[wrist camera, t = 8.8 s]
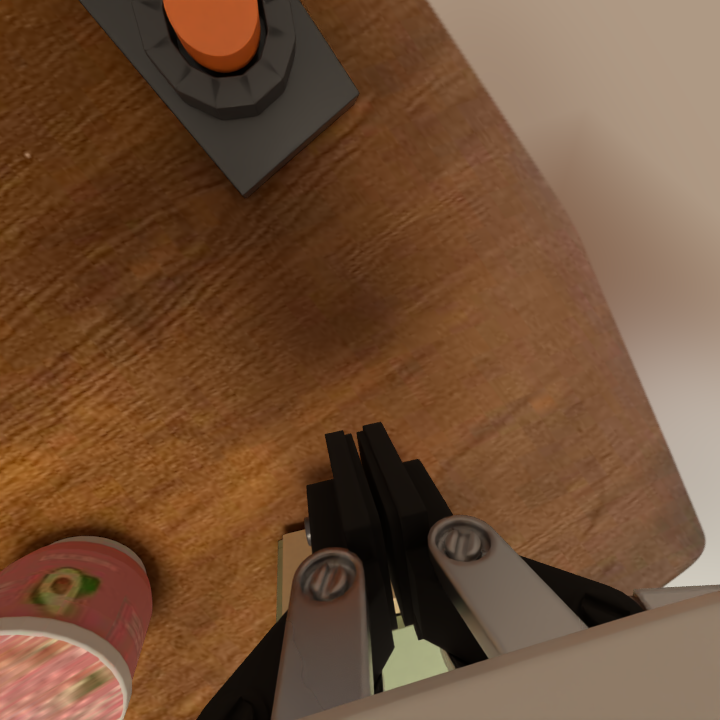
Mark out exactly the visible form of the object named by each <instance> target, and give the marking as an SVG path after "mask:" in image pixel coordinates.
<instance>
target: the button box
mask: <svg viewBox="0 0 720 720" xmlns="http://www.w3.org/2000/svg"><path fill="white" fill-rule="evenodd" d="M79 1H80V2H81V4H82V5H83V6H84V7H85V8H86V10H87V11H88V12H89V13H90V14H91V16H92V17H93V18H94V19H95V20H96V21H97V23H98V24H99V25H100V26H101V27H102V29H103V30H104V31H105V32H106V33H107V35H108V36H109V37H110V38H111V39H112V41H113V42H114V43H115V44H116V45H117V47H118V48H119V49H120V50H121V51H122V53H123V54H124V55H125V56H126V57H127V59H128V60H129V61H130V62H131V63H132V64H133V66H134V67H135V68H136V69H137V70H138V72H139V73H140V74H141V75H142V76H143V78H144V79H145V80H146V81H147V82H148V84H149V85H150V86H151V87H152V88H153V90H154V91H155V92H156V93H157V94H158V96H159V97H160V98H161V99H162V100H163V102H164V103H165V104H166V105H167V106H168V107H169V109H170V110H171V111H172V112H173V113H174V115H175V116H176V117H177V118H178V119H179V121H180V122H181V123H182V124H183V125H184V127H185V128H186V129H187V130H188V131H189V133H190V134H191V135H192V136H193V137H194V139H195V140H196V141H197V142H198V143H199V145H200V146H201V147H202V148H203V149H204V150H205V152H206V153H207V154H208V155H209V156H210V158H211V159H212V160H213V161H214V162H215V164H216V165H217V166H218V167H219V168H220V170H221V171H222V172H223V173H224V174H225V176H226V177H227V178H228V179H229V180H230V182H231V183H232V184H233V185H234V186H235V188H236V189H237V190H238V191H239V192H240V193H241V195H242V196H243V197H244V198H247V197H249V196H250V195H251V194H252V193H253V192H254V191H255V190H257V189H258V188H259V187H260V186H261V185H262V184H263V183H265V182H266V181H267V180H268V179H269V178H270V177H271V176H273V175H274V174H275V173H276V172H277V171H278V170H279V169H281V168H282V167H283V166H284V165H285V164H286V163H287V162H289V161H290V160H291V159H292V158H293V157H294V156H295V155H297V154H298V153H299V152H300V151H301V150H302V149H303V148H305V147H306V146H307V145H308V144H309V143H310V142H311V141H313V140H314V139H315V138H316V137H317V136H318V135H319V134H321V133H322V132H323V131H324V130H325V129H326V128H327V127H329V126H330V125H331V124H332V123H333V122H334V121H335V120H337V119H338V118H339V117H340V116H341V115H342V114H343V113H345V112H346V111H347V110H348V109H349V108H350V107H351V106H353V105H354V103H355V101H356V99H357V97H358V95H359V91H358V90H357V88H356V87H355V85H354V84H353V82H352V81H351V79H350V78H349V76H348V74H347V73H346V71H345V70H344V68H343V67H342V65H341V64H340V62H339V61H338V59H337V58H336V56H335V54H334V53H333V51H332V50H331V48H330V47H329V45H328V44H327V42H326V41H325V39H324V38H323V36H322V34H321V33H320V31H319V30H318V28H317V27H316V25H315V24H314V22H313V21H312V19H311V17H310V16H309V14H308V13H307V11H306V10H305V8H304V7H303V5H302V4H301V2H300V1H299V0H257V3H258V11H259V19H260V31H261V34H260V42H259V46H258V49H257V52H256V54H255V56H254V57H253V59H252V60H251V61H250V62H249V63H248V64H247V65H246V66H245V67H243V68H241V69H240V70H237V71H234V72H230V73H221V72H215V71H212V70H209V69H207V68H205V67H203V66H202V65H200V64H199V63H197V62H196V61H195V60H194V59H193V58H192V57H191V56H190V55H189V54H188V53H187V51H186V50H185V48H184V47H183V45H182V43H181V42H180V40H179V38H178V36H177V34H176V32H175V30H174V29H173V27H172V25H171V23H170V21H169V19H168V16H167V14H166V11H165V8H164V3H163V0H79Z"/></svg>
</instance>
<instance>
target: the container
mask: <svg viewBox="0 0 720 720" xmlns="http://www.w3.org/2000/svg"><path fill="white" fill-rule="evenodd" d="M152 603H153V602H152V593H151V587H150V583H149V579H148V577H147V574H146V570H145V567H144V565H143V563H142V561H141V559H140V558H139V557H138V556H137V555H136V554H135V553H134V552H133V551H132V550H130V549H129V548H128V547H126V546H124V545H122V544H120V543H118V542H116V541H113V540H110V539H107V538H102V537H96V536H77V537H70V538H66V539H63V540H59V541H56V542H54V543H52V544H50V545H48V546H45V547H42V548H39V549H37V550H35V551H33V552H31V553H29V554H27V555H26V556H24V557H22V558H20V559H19V560H17V561H15V562H13V563H12V564H10V565H9V566H7V567H6V568H5V569H3V570H2V571H1V572H0V720H123V719H124V716H125V713H126V710H127V707H128V704H129V701H130V697H131V694H132V679H133V676H134V672H135V669H136V666H137V662H138V659H139V656H140V652H141V649H142V646H143V642H144V639H145V636H146V632H147V629H148V626H149V622H150V619H151V616H152Z"/></svg>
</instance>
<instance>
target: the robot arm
mask: <svg viewBox="0 0 720 720" xmlns="http://www.w3.org/2000/svg"><path fill="white" fill-rule="evenodd" d="M325 438H326V443H327V448H328V453H329V458H330V463H331V468H332V473H333V478H334V479H331V480H327V481H323V482H318V483H314V484H310V485H307V500H308V512H309V524H310V536H311V548H312V554H311V555H309V556H308V557H307V558H306V559H305V560H304V561H302V562H301V564H300V565H299V567H298V568H297V570H296V571H295V574H294V577H293V580H292V586H291V593H290V599H289V606H288V610H287V611H286V612H285V613H284V614H283V615H282V617H281V618H280V619H279V620H278V621H277V623H276V624H275V625H274V626H273V627H272V628H271V630H270V631H269V632H268V633H267V634H266V635H265V637H264V638H263V639H262V640H261V641H260V643H259V644H258V645H257V646H256V647H255V648H254V650H253V651H252V652H251V653H250V654H249V656H248V657H247V658H246V659H245V660H244V661H243V663H242V664H241V665H240V666H239V667H238V669H237V670H236V671H235V672H234V673H233V674H232V676H231V677H230V678H229V679H228V680H227V681H226V683H225V684H224V685H223V686H222V687H221V689H220V690H219V691H218V692H217V693H216V694H215V696H214V697H213V698H212V699H211V700H210V702H209V703H208V704H207V705H206V706H205V708H204V709H203V711H202V712H201V714H200V715H199V716H198V718H197V719H196V720H720V585H705V586H686V587H667V588H648V589H633V596H627V595H626V594H624V593H623V592H621V591H619V590H617V589H614V588H612V587H610V586H607V585H605V584H602V583H599V582H596V581H593V580H590V579H587V578H584V577H581V576H578V575H575V574H572V573H569V572H567V571H564V570H561V569H558V568H555V567H552V566H549V565H546V564H543V563H540V562H537V561H534V560H531V559H529V558H526V557H523V556H520V555H518V554H517V553H516V552H515V551H514V550H513V549H512V548H511V547H510V546H509V545H508V544H507V543H506V542H505V541H504V540H503V539H502V538H501V536H500V535H499V534H498V533H497V532H496V531H495V530H494V529H493V528H492V527H491V526H489V525H488V524H487V523H485V522H484V521H482V520H480V519H478V518H475V517H472V516H466V515H453V514H452V512H451V511H450V509H449V507H448V506H447V504H446V502H445V501H444V499H443V497H442V496H441V494H440V492H439V491H438V489H437V488H436V486H435V484H434V483H433V481H432V479H431V478H430V476H429V474H428V473H427V471H426V469H425V468H424V466H423V464H422V463H421V461H420V460H419V459H415V460H411V461H407V462H403V463H402V461H401V459H400V457H399V455H398V453H397V451H396V450H395V448H394V446H393V444H392V442H391V440H390V438H389V436H388V434H387V432H386V430H385V428H384V426H383V424H382V423H381V422H378V423H373V424H369V425H364V426H363V431H360V432H357V439H358V445H359V451H360V457H361V461H360V458H359V455H358V452H357V449H356V446H355V443H354V440H353V437H352V434H347V435H344V432H343V430H342V431H337V432H333V433H328V434H325ZM361 462H362V464H361ZM390 580H391V581H390ZM391 584H392V587H393V590H394V593H395V597H396V600H397V603H398V606H399V610H400V613H401V616H402V619H403V623H404V625H405V627H406V626H409V625H413V626H414V629H415V632H416V635H417V638H418V641H419V640H422V639H424V640H426V641H428V642H430V643H432V644H434V645H436V646H438V647H439V648H440V653H441V655H442V658H443V661H444V663H445V665H446V667H447V669H448V670H449V671H448V672H445V673H442V674H439V675H435V676H432V677H429V678H426V679H423V680H419V681H416V682H413V683H410V684H407V685H403V686H400V687H397V688H394V689H391V690H388V691H385V681H384V675H383V668H384V666H385V665H386V663H387V661H388V659H389V657H390V655H391V654H392V652H393V650H394V648H395V646H394V640H393V634H392V630H396V629H398V624H397V618H396V612H395V606H394V600H393V593H392V587H391Z"/></svg>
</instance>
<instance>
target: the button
mask: <svg viewBox="0 0 720 720" xmlns="http://www.w3.org/2000/svg"><path fill="white" fill-rule="evenodd" d="M163 3H164V8H165V11H166V14H167V16H168V19H169V21H170V23H171V25H172V27H173V29H174V30H175V32H176V34H177V36H178V38H179V40H180V42H181V43H182V45H183V47H184V48H185V50H186V51H187V53H188V54H189V55H190V56H191V57H192V58H193V59H194V60H195V61H196V62H197V63H199V64H200V65H202V66H203V67H205V68H207V69H209V70H212V71H215V72H221V73H230V72H234V71H237V70H240V69H241V68H243V67H245V66H246V65H247V64H248V63H249V62H250V61H251V60H252V59H253V57H254V56H255V54H256V52H257V49H258V46H259V42H260V34H261V31H260V19H259V11H258V3H257V0H163Z"/></svg>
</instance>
